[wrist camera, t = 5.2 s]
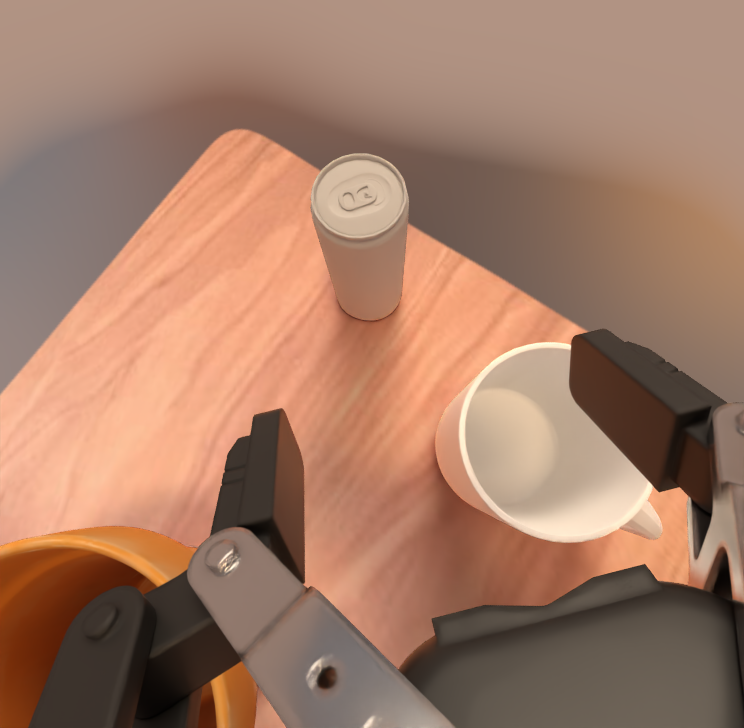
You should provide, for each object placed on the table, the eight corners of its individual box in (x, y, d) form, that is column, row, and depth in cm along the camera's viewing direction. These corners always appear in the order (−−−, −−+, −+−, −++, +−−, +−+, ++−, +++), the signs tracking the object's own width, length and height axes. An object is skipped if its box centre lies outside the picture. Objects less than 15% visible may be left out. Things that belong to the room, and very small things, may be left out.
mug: (558, 578, 27) (666, 651, 17) (407, 456, 29) (418, 452, 19) (631, 468, 28) (773, 472, 18) (481, 359, 30) (531, 305, 20)
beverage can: (411, 311, 31) (425, 221, 20) (349, 332, 31) (325, 255, 19) (389, 255, 32) (389, 137, 21) (328, 275, 32) (295, 168, 21)
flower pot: (66, 544, 29) (-191, 609, 16) (269, 475, 29) (178, 484, 16) (103, 787, 25) (-181, 1111, 13) (331, 704, 26) (276, 936, 13)
